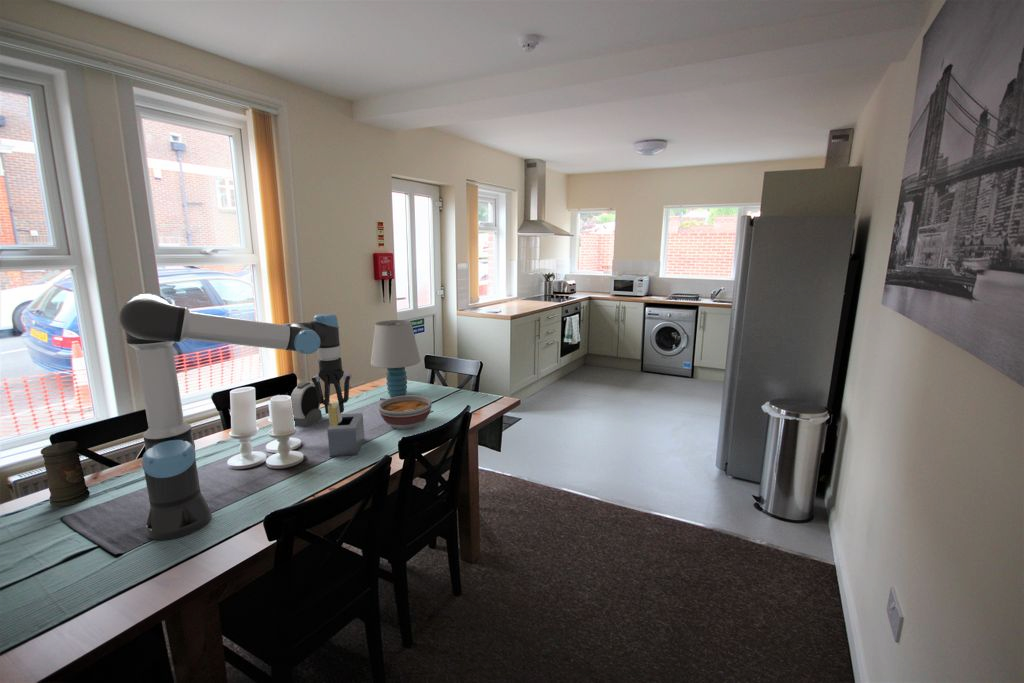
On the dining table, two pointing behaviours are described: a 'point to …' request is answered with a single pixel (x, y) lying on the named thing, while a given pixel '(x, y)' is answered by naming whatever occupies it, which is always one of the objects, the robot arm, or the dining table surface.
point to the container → (64, 474)
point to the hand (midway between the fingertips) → (335, 421)
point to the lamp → (394, 353)
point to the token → (333, 414)
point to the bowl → (405, 411)
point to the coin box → (346, 436)
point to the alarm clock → (305, 405)
